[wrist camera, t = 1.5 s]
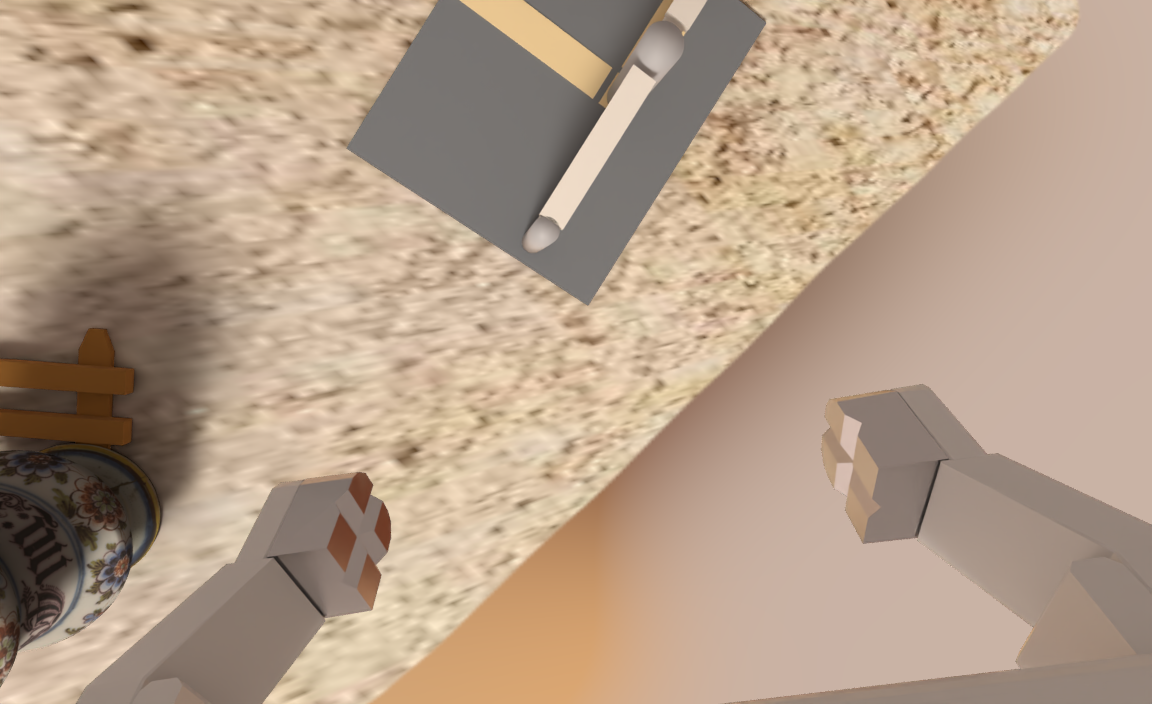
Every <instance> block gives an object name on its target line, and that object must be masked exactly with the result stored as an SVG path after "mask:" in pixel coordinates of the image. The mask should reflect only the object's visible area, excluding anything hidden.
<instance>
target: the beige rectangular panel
mask: <svg viewBox="0 0 1152 704" xmlns="http://www.w3.org/2000/svg"><path fill="white" fill-rule="evenodd" d="M655 83H656V81H655V80H653V79H652V78H651V77H649V76H648V75H647V74H646V73H644V72H643V71H642V70H640V69H639V68H638V67H636V66H635V65H634V64H633V66H632V67H631V69H630V71H629V72H628V74H627V75H626V77H625V79H624V80H623V82H622V83H621V85H620V86H619V88H618V90H617V91H616V93H615V94H614V96H613V98H612V99H611V101H610V102H609V104H608V106H607V107H606V109H605V110H604V112H603V114H602V115H601V117H600V118H599V120H598V121H597V123H596V125H595V126H594V128H593V129H592V131H591V133H590V134H589V136H588V137H587V139H586V141H585V142H584V144H583V145H582V147H581V148H580V150H579V152H578V153H577V155H576V156H575V158H574V160H573V161H572V163H571V164H570V166H569V168H568V169H567V171H566V172H565V174H564V176H563V177H562V179H561V180H560V182H559V183H558V185H557V187H556V188H555V190H554V191H553V193H552V195H551V196H550V198H549V199H548V201H547V203H546V204H545V206H544V207H543V209H542V211H541V212H540V214H539V215H540V216H539V217H538V219H537V220H536V221H535V222H534V223H533V224H532V226H531V227H530V228H529V230H528V231H527V232H526V233H525V235H524V236H523V238H522V246H523V248H524V250H525V251H527V252H528V253H532V254H533V253H537V252H539V251H541V250H542V249H544V248H545V247H547V246H549V245H550V244H552V243H553V242H555V241H556V240H557V238H558V237H559V234H560V230H563V229H564V227H565V226H566V224H567V223H568V221H569V219H570V218H571V216H572V215H573V213H574V211H575V210H576V208H577V207H578V205H579V204H580V202H581V200H582V199H583V197H584V196H585V194H586V192H587V191H588V189H589V188H590V186H591V184H592V183H593V181H594V180H595V178H596V177H597V175H598V173H599V172H600V170H601V169H602V167H603V165H604V164H605V162H606V161H607V159H608V157H609V156H610V154H611V153H612V151H613V150H614V148H615V146H616V145H617V143H618V142H619V140H620V138H621V137H622V135H623V134H624V132H625V130H626V129H627V127H628V126H629V124H630V122H631V121H632V119H633V118H634V116H635V115H636V113H637V111H638V110H639V108H640V107H641V105H642V103H643V102H644V100H645V99H646V97H647V95H648V94H649V92H650V91H651V89H652V88H653V86H654V84H655Z"/></svg>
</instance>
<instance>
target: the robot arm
mask: <svg viewBox="0 0 1152 704" xmlns="http://www.w3.org/2000/svg"><path fill="white" fill-rule="evenodd" d="M825 418H826V420H827V422H828V423H829V425H830V428H829V429H828V430H827V431H826V432H825V433H824V434H823V435H822V448H821V451H822V457H823V463H824V467H825V470H826V473H827V475H828V478H829V480H830V482H831V483H832V486H833V488H834V489H836V490H837V491H839V492H840V493H842V494H843V495H845V496H847V501H846V507H845V511H846V513H847V515H848V517H849V518H850V520H851V522H852V524H853V526H854V527H855V529H856V532H857V533H858V535H859V537H860V539H861V541H862V543H863V544H865V543H874V542H883V541H892V540H902V539H911V538H918V539H917V541H918V542H920V543H921V544H922V545H924V546H925V547H927V548H928V549H929V550H931V551H932V552H933V553H934V554H936V555H937V556H938V557H940V558H941V559H942V560H944V561H945V562H946V563H948V564H949V565H950V566H952V567H953V568H955V569H956V570H957V571H958V572H960V573H961V574H962V575H964V576H965V577H966V578H968V579H969V580H970V581H972V582H973V583H974V584H976V585H977V586H979V587H980V588H981V589H982V590H984V591H985V592H986V593H988V594H989V595H991V596H992V597H993V598H995V599H996V600H997V601H999V602H1000V603H1001V604H1002V605H1004V606H1005V607H1007V608H1008V609H1009V610H1011V611H1012V612H1013V613H1014V614H1016V615H1017V616H1019V617H1020V618H1021V619H1023V620H1024V621H1025V622H1026V623H1028V624H1029V625H1030V626H1032V627H1033V629H1032V631H1031V633H1030V635H1029V636H1028V638H1027V640H1026V641H1025V643H1024V645H1023V646H1022V648H1021V650H1020V652H1019V654H1018V656H1017V659H1016V663H1017V664H1018V666H1019V667H1020V669H1014V670H1005V671H997V672H988V673H979V674H971V675H962V676H954V677H945V678H937V679H928V680H920V681H911V682H903V683H895V684H887V685H877V686H869V687H860V688H852V689H844V690H835V691H826V692H819V693H809V694H801V695H793V696H784V697H776V698H768V699H758V700H750V701H741V702H733V703H725V704H1152V525H1151V524H1149V523H1147V522H1145V521H1142V520H1140V519H1138V518H1136V517H1134V516H1132V515H1130V514H1127V513H1125V512H1123V511H1121V510H1119V509H1117V508H1114V507H1112V506H1110V505H1108V504H1106V503H1104V502H1102V501H1099V500H1097V499H1095V498H1093V497H1091V496H1089V495H1087V494H1084V493H1082V492H1080V491H1078V490H1076V489H1074V488H1071V487H1069V486H1067V485H1065V484H1063V483H1061V482H1059V481H1056V480H1054V479H1052V478H1050V477H1048V476H1046V475H1043V474H1041V473H1039V472H1037V471H1035V470H1033V469H1031V468H1028V467H1026V466H1024V465H1022V464H1020V463H1018V462H1015V461H1013V460H1011V459H1009V458H1007V457H1005V456H1002V455H1000V454H998V453H996V454H987V453H986V452H985V451H984V450H983V449H982V447H981V446H980V445H979V444H978V443H977V442H976V441H975V439H974V438H973V437H972V436H971V435H970V434H969V432H968V431H967V430H966V429H965V428H964V427H963V426H962V425H961V424H960V422H959V421H958V420H957V419H956V418H955V416H954V415H953V414H952V413H951V412H950V411H949V409H948V408H947V407H946V406H945V405H944V404H943V403H942V401H941V400H940V399H939V398H938V397H937V396H936V394H935V393H934V392H933V391H932V390H931V389H930V388H929V387H927V386H925V385H923V384H919V385H914V386H907V387H901V388H896V389H891V390H883V391H878V392H871V393H865V394H859V395H853V396H847V397H841V398H834V399H830V400H829V401H828V403H827V405H826V409H825ZM372 488H373V484H372V482H371V481H370V479H369V478H368V476H367V475H366V473H362V472H355V473H347V474H340V475H332V476H324V477H316V478H308V479H305V480H297V481H289V482H281V483H279V484H278V485H277V486H275V487H274V488H273V489H272V490H271V492H270V494H269V496H268V498H267V500H266V502H265V504H264V506H263V508H262V510H261V512H260V514H259V516H258V518H257V520H256V522H255V524H254V526H253V528H252V530H251V532H250V534H249V536H248V537H247V539H246V541H245V543H244V545H243V547H242V549H241V551H240V553H239V555H238V557H237V559H236V561H235V563H231V564H226V565H225V566H224V567H222V568H221V569H220V570H219V571H218V572H217V573H216V574H214V575H213V576H212V577H211V578H210V579H209V580H208V581H206V582H205V583H204V584H203V585H202V586H201V587H200V588H198V589H197V590H196V591H195V592H194V593H193V594H192V595H190V596H189V597H188V598H187V599H186V600H185V601H184V602H182V603H181V604H180V605H179V606H178V607H177V608H176V609H174V610H173V611H172V612H171V613H170V614H169V615H168V616H166V617H165V618H164V619H163V620H162V621H161V622H160V623H158V624H157V625H156V626H155V627H154V628H153V629H152V630H150V631H149V632H148V633H147V634H146V635H145V636H144V637H142V638H141V639H140V640H139V641H138V642H137V643H136V644H134V645H133V646H132V647H131V648H130V649H129V650H128V651H126V652H125V653H124V654H123V655H122V656H121V657H120V658H118V659H117V660H116V661H115V662H114V663H113V664H112V665H110V666H109V667H108V668H107V669H106V670H105V671H104V672H102V673H101V674H100V675H99V676H98V677H97V678H95V679H94V680H93V681H92V682H91V683H90V684H89V685H87V686H86V688H85V689H84V691H83V693H82V694H81V696H80V697H79V699H78V701H77V702H76V704H262V703H263V702H264V700H265V699H266V698H267V696H268V695H269V694H270V693H271V691H272V690H273V689H274V687H275V686H276V685H277V683H278V682H279V681H280V680H281V678H282V677H283V676H284V674H285V673H286V672H287V670H288V669H289V668H290V667H291V665H292V664H293V663H294V661H295V660H296V659H297V657H298V656H299V655H300V653H301V652H302V651H303V650H304V648H305V647H306V646H307V644H308V643H309V642H310V640H311V639H312V638H313V637H314V635H315V634H316V633H317V631H318V630H319V629H320V627H321V626H322V625H323V624H324V622H325V619H324V618H328V617H334V616H340V615H346V614H353V613H359V612H365V611H371V610H372V609H373V605H374V601H375V598H376V594H377V590H378V586H379V583H380V579H381V573H380V571H379V569H378V567H377V566H376V564H377V563H378V562H379V561H380V560H381V559H382V558H383V557H384V556H385V555H386V553H387V552H388V548H389V544H390V540H391V520H390V517H389V513H388V510H387V508H386V506H385V504H384V503H383V501H382V500H380V499H378V498H376V497H374V496H372V495H370V494H371V491H372Z"/></svg>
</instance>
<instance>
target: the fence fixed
mask: <svg viewBox="0 0 1152 704" xmlns="http://www.w3.org/2000/svg"><path fill="white" fill-rule="evenodd" d="M706 2H707V0H674V1H673V2H672V4H671V5H670V7H669V9H668V10H667V12H666V13H665V15H664V16H665V17H664V19H663V20H662V21H657V22H655V23H653V24H652V25H650V26H649V28H648V29H647V30H646V32H645V34H644V35H643V37H642V38H641V40H640V41H639V43H638V44H637V46H636V48H635V49H634V51H633V52H632V54H631V55H630V57H629V59H628V60H627V62H626V63H625V65H624V66H623V68H622V70H621V71H620V73H619V74H618V76H617V77H616V79H615V81H614V82H613V84H612V85H611V87H610V88H609V90H608V93H607V102H608V104H609V102H610V101H611V99H612V98H613V96H614V94H615V93H616V91H617V90H618V88H619V86H620V85H621V83H622V82H623V80H624V79H625V77H626V75H627V74H628V72H629V71H630V69H631V67H632V66H633V64H634V65H635V66H636V67H638V68H639V69H640V70H642V71H643V72H644V73H646V74H647V75H648V76H649V77H651V78H652V79H653V80H655V81H656V83H655V84H654V86H653V88H652V89H651V91H652V90H653V89H654V88H655V86H656V85H657V84H658V83H659V82H660V81H661V79H662V78H663V77H664V76H665V75H666V74H667V72H668V71H669V70H670V69H671V68H672V67H673V66H674V64H675V63H676V62H677V61H678V60H679V58H680V57H681V55H682V53H683V50H684V38H683V35H682V32H683V31H684V32H687V31H688V30H689V29H690V27H691V26H692V24H693V22H694V21H695V19H696V18H697V16H698V14H699V13H700V11H701V10H702V8H703V6H704V5H705V3H706ZM651 91H650V92H651ZM650 92H649V93H650ZM648 95H649V94H648ZM648 95H647V96H648Z"/></svg>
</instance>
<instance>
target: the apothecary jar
mask: <svg viewBox="0 0 1152 704" xmlns="http://www.w3.org/2000/svg"><path fill="white" fill-rule="evenodd" d="M159 524H160V506H159V501H158V498H157V494H156V492H155V489H154V487H153V485H152V483H151V482H150V480H149V479H148V478H147V476H146V474H145V473H144V472H143V471H142V470H141V469H140V468H139V467H138V466H137V465H136V464H135V463H133V462H132V461H131V460H129V459H128V458H126V457H125V456H123V455H121V454H119V453H117V452H115V451H112V450H110V449H107V448H103V447H100V446H95V445H90V444H63V445H57V446H54V447H50V448H47V449H44V450H41V451H39V452H35V451H21V450H12V451H0V687H1V685H2V684H3V682H4V681H5V679H6V677H7V676H8V674H9V672H10V670H11V668H12V666H13V663H14V661H15V658H16V655H17V653H18V652H25V651H31V650H36V649H40V648H44V647H47V646H50V645H52V644H55V643H58V642H60V641H62V640H65V639H67V638H69V637H71V636H73V635H75V634H76V633H78V632H80V631H81V630H83V629H84V628H86V627H87V626H88V625H90V624H91V623H92V622H94V621H95V620H96V619H97V618H98V617H100V616H101V615H102V614H103V613H104V612H105V611H106V610H107V609H108V608H109V607H110V605H111V604H112V603H113V602H114V600H115V599H116V598H117V596H118V594H119V593H120V591H121V590H122V588H123V586H124V584H125V582H126V579H127V577H128V574H129V571H130V568H131V567H132V566H134V565H135V564H136V563H137V562H139V561H140V560H141V559H142V558H143V557H144V556H145V555H146V553H147V552H148V551H149V549H150V547H151V546H152V544H153V542H154V540H155V538H156V535H157V532H158V529H159Z"/></svg>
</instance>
